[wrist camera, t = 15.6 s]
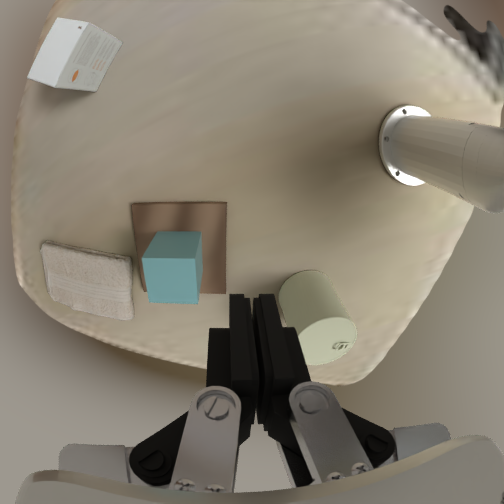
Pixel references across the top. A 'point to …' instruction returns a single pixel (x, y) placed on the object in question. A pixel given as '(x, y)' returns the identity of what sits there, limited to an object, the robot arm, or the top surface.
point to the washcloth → (89, 280)
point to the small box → (74, 56)
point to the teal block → (174, 267)
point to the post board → (187, 219)
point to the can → (317, 317)
